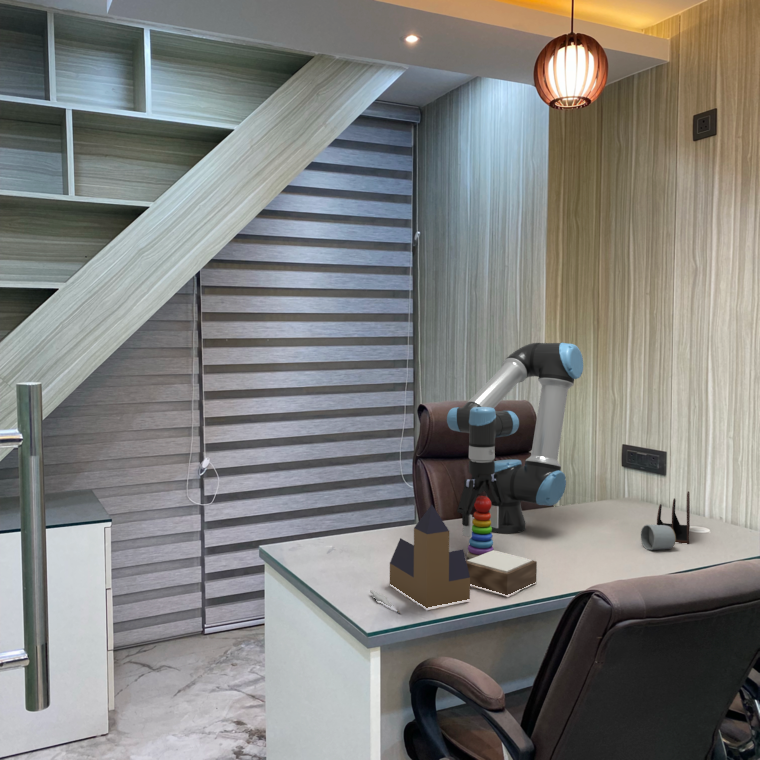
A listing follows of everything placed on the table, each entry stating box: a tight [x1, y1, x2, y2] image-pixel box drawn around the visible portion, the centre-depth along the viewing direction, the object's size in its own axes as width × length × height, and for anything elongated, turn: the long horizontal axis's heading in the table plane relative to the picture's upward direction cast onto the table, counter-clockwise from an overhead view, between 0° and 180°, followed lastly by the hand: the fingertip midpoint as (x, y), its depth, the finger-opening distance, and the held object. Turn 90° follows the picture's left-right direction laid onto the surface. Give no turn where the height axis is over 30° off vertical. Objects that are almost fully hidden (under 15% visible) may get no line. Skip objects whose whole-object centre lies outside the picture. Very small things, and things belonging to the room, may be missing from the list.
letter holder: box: [656, 491, 691, 545], centre depth 236 cm, size 10×20×14 cm, turn 156°
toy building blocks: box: [389, 504, 471, 608], centre depth 181 cm, size 12×19×25 cm
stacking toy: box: [466, 495, 494, 560], centre depth 210 cm, size 8×8×19 cm
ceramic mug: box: [640, 524, 676, 551], centre depth 222 cm, size 11×8×8 cm
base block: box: [466, 549, 538, 595], centre depth 189 cm, size 14×14×6 cm
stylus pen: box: [369, 589, 393, 607], centre depth 175 cm, size 15×3×2 cm, turn 30°
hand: (480, 531), depth 210 cm, fingers open, 13 cm apart
